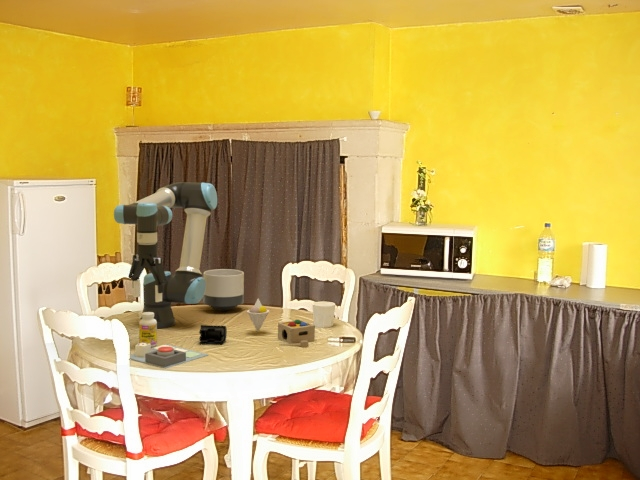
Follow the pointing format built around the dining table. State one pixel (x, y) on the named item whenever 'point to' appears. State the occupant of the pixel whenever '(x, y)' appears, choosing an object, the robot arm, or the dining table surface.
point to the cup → (323, 314)
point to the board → (189, 353)
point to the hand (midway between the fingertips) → (147, 299)
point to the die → (142, 349)
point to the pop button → (165, 351)
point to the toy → (258, 314)
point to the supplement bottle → (148, 329)
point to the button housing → (165, 358)
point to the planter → (223, 288)
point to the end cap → (212, 335)
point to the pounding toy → (296, 333)
